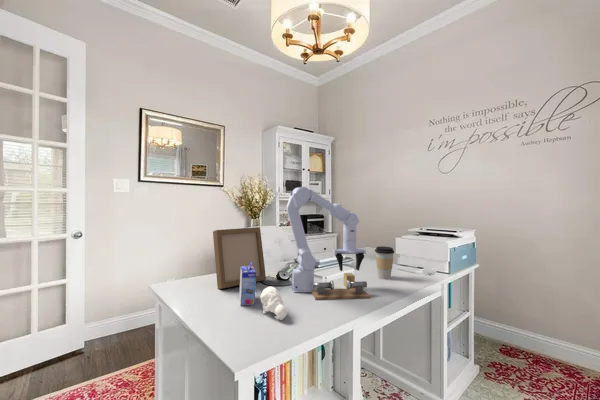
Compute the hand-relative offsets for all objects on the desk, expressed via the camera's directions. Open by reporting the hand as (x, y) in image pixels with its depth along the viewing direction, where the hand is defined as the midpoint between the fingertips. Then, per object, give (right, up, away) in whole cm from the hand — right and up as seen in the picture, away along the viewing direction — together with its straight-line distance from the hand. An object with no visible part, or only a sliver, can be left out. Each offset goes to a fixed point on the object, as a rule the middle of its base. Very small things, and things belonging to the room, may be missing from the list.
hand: (349, 270), depth 123 cm
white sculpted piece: (-30, -7, -31) cm, 44 cm away
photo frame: (-51, -7, +5) cm, 52 cm away
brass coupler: (0, -7, 0) cm, 7 cm away
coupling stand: (-6, -7, -11) cm, 14 cm away
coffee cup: (+20, -8, +15) cm, 26 cm away
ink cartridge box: (-42, -7, -19) cm, 47 cm away
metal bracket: (-28, -8, +14) cm, 32 cm away
